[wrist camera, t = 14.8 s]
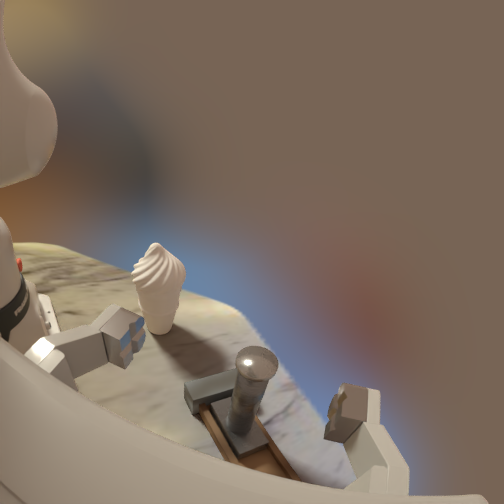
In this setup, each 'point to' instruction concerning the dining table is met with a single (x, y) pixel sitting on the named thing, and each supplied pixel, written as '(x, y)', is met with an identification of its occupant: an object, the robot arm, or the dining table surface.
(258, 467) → the rail
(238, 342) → the dining table surface
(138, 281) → the soft serve ice cream cone
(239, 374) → the carriage
